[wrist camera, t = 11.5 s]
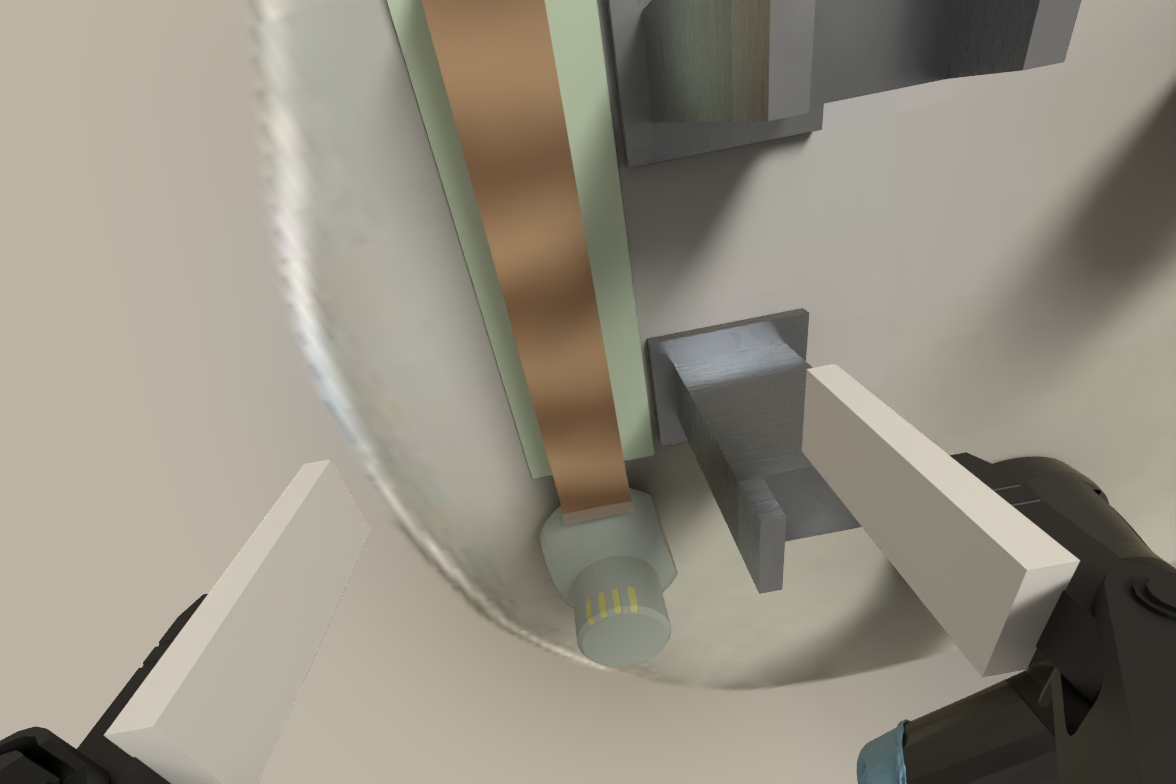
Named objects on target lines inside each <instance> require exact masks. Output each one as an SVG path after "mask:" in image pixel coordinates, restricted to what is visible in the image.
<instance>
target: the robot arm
mask: <svg viewBox="0 0 1176 784" xmlns="http://www.w3.org/2000/svg"><path fill="white" fill-rule="evenodd" d="M802 452H803V453H804V455H805V456H806V457H807V458H808V460H809V461H810V462H811V463H812V465H813V466H814V467H815V468H816V470H817V471H818V472H819V473H820V475H821V476H822V477H823V478H824V480H825V481H826V482H827V483H828V485H829V486H830V487H831V488H832V490H833V491H834V492H835V493H836V495H837V496H838V497H839V498H840V500H841V501H842V502H843V503H844V505H845V506H846V507H847V508H848V510H849V511H850V512H851V513H852V515H853V516H854V517H855V518H856V520H857V521H858V522H859V523H860V525H861V526H862V527H863V528H864V530H865V531H866V532H867V533H868V535H869V536H870V537H871V538H872V540H873V541H874V542H875V543H876V545H877V546H878V547H879V548H880V550H881V551H882V552H883V553H884V555H885V556H886V557H887V558H888V560H889V561H890V562H891V563H892V565H893V566H894V567H895V568H896V570H897V571H898V572H899V573H900V575H901V576H902V577H903V578H904V580H905V581H906V582H907V583H908V585H909V586H910V587H911V588H912V590H913V591H914V592H915V593H916V595H917V596H918V597H919V598H920V600H921V601H922V602H923V603H924V605H925V606H926V607H927V609H928V610H929V611H930V612H931V614H932V615H933V616H934V617H935V619H936V620H937V621H938V622H939V624H940V625H941V626H942V627H943V629H944V630H945V631H946V632H947V634H948V635H949V636H950V637H951V639H952V640H953V641H954V642H955V644H956V645H957V646H958V647H959V649H960V650H961V651H962V652H963V654H964V655H965V656H966V657H967V659H968V660H969V661H970V662H971V664H972V665H973V666H974V667H975V669H976V670H977V671H978V672H979V674H980V675H981V676H982V677H986V676H992V675H998V674H1003V673H1009V672H1015V671H1020V670H1025V671H1023V672H1021V673H1019V674H1017V675H1014V676H1012V677H1010V678H1008V679H1006V680H1003V681H1000V682H998V683H996V684H994V685H992V686H990V687H987V688H985V689H983V690H981V691H979V692H977V693H975V694H972V695H970V696H968V697H966V698H964V699H961V700H959V701H956V702H954V703H952V704H950V705H947V706H945V707H943V708H940V709H938V710H936V711H933V712H931V713H929V714H926V715H924V716H922V717H920V718H917V719H915V720H913V721H909V720H907V719H906V720H903V721H901V722H900V723H899V724H898V726H897V728H895V729H893V730H891V731H889V732H887V733H885V734H883V735H882V736H880V737H878V738H876V739H874V740H872V741H870V742H868V743H867V744H866V745H865V746H864V747H863V748H862V750H861V752H860V754H859V757H858V761H857V779H858V784H1176V569H1175V568H1174V567H1172V566H1171V565H1170V564H1168V563H1167V562H1165V561H1164V560H1163V559H1161V558H1160V557H1159V556H1157V555H1156V554H1155V553H1153V552H1152V550H1151V549H1150V548H1149V547H1148V546H1147V545H1146V543H1145V542H1144V541H1143V540H1142V539H1141V537H1140V536H1139V535H1138V534H1137V533H1136V532H1135V530H1134V529H1133V528H1132V527H1131V526H1130V525H1129V524H1128V522H1127V521H1126V520H1125V519H1124V518H1123V517H1122V516H1121V515H1120V514H1119V513H1118V512H1117V511H1116V510H1115V509H1114V508H1113V507H1111V506H1110V505H1109V502H1108V499H1107V497H1106V495H1105V494H1104V492H1103V491H1102V490H1101V489H1100V488H1099V486H1097V485H1096V484H1095V483H1094V482H1093V481H1092V480H1090V479H1089V478H1087V477H1086V476H1084V475H1083V474H1081V473H1080V472H1078V471H1077V470H1075V469H1073V468H1072V467H1070V466H1069V465H1067V464H1066V463H1064V462H1062V461H1059V460H1056V459H1053V458H1047V457H1023V458H1017V459H1011V460H1007V461H1003V462H1000V463H997V464H994V465H993V464H991V463H989V462H987V461H984V460H982V459H980V458H978V457H975V456H973V455H971V454H968V453H961V454H955V455H950V456H949V455H948V454H947V453H946V452H944V451H943V450H942V449H941V448H939V447H938V446H937V445H936V444H934V443H933V442H932V441H931V440H929V439H928V438H927V437H926V436H924V435H923V434H922V433H921V432H919V431H918V430H917V429H916V428H914V427H913V426H912V425H911V424H909V423H908V422H907V421H906V420H904V419H903V418H902V417H901V416H899V415H898V414H897V413H896V412H894V411H893V410H892V409H891V408H889V407H888V406H887V405H886V404H884V403H883V402H882V401H881V400H879V399H878V398H877V397H876V396H874V395H873V394H872V393H871V392H869V391H868V390H867V389H866V388H865V387H863V386H862V385H861V384H860V383H858V382H857V381H856V380H855V379H853V378H852V377H851V376H850V375H848V374H847V373H846V372H845V371H843V370H842V369H841V368H840V367H838V366H837V365H836V364H832V365H826V366H821V367H816V368H810V369H807V373H806V389H805V405H804V422H803V438H802ZM370 532H371V530H370V528H369V526H368V524H367V523H366V521H365V519H364V517H363V515H362V514H361V512H360V510H359V508H358V506H357V505H356V503H355V501H354V499H353V497H352V496H351V494H350V492H349V490H348V488H347V487H346V485H345V483H344V481H343V479H342V478H341V476H340V474H339V472H338V471H337V469H336V467H335V465H334V463H333V462H332V460H331V459H329V460H324V461H318V462H313V463H308V464H304V465H303V466H302V468H301V469H300V470H299V472H298V473H297V474H296V476H295V478H293V480H292V481H291V483H290V484H289V485H288V487H287V488H286V489H285V491H284V492H283V493H282V495H281V496H280V497H279V499H278V500H277V502H276V503H275V504H274V506H273V507H272V508H271V510H270V511H269V512H268V514H267V515H266V516H265V518H264V519H263V520H262V522H261V523H260V524H259V526H258V527H257V529H256V530H255V531H254V533H253V534H252V535H251V537H250V538H249V539H248V541H247V542H246V544H245V545H244V546H243V548H242V549H241V550H240V552H239V553H238V554H237V556H236V557H235V558H234V560H233V561H232V562H231V564H230V565H229V566H228V568H227V569H226V571H225V572H224V573H223V575H222V576H221V577H220V579H219V580H218V581H217V583H216V584H215V585H214V587H213V588H212V589H211V591H210V592H209V594H204V595H202V596H201V597H200V598H199V599H198V600H196V602H194V603H193V604H192V605H191V606H190V607H189V608H188V609H187V610H185V611H184V612H183V613H182V614H181V615H180V616H179V617H178V618H177V619H176V620H175V622H174V623H173V624H172V626H171V627H170V628H169V629H168V631H167V632H166V633H165V635H164V636H163V637H162V639H161V640H160V641H159V646H158V647H155V648H154V649H153V650H152V652H151V653H150V654H149V656H148V657H147V658H146V659H145V661H144V662H143V664H144V665H143V667H142V668H139V669H138V670H137V671H136V673H135V674H134V675H133V676H132V678H131V679H130V680H129V682H128V683H127V684H126V686H125V687H124V688H123V690H122V691H121V692H120V693H119V695H118V696H117V698H116V699H115V700H114V701H113V703H112V704H111V705H110V707H109V708H108V709H107V710H106V712H105V713H104V714H103V716H102V717H101V718H100V720H99V721H98V722H97V723H96V725H95V726H94V727H93V729H92V730H91V732H90V733H89V734H88V735H87V737H86V738H85V739H84V741H83V742H82V743H81V744H80V746H79V747H78V748H77V749H75V748H74V747H72V746H71V745H69V744H68V743H66V742H65V741H64V740H62V739H61V738H59V737H58V736H56V735H55V734H53V733H52V732H51V731H49V730H48V729H45V728H40V727H32V728H28V729H25V730H21V731H18V732H16V733H14V734H12V735H10V736H8V737H6V738H5V739H3V740H1V741H0V784H259V781H260V779H261V777H262V775H263V772H264V770H265V768H266V766H267V763H268V761H269V759H270V756H271V754H272V752H273V750H274V748H275V746H276V743H277V741H278V739H279V736H280V734H281V732H282V730H283V728H284V725H285V723H286V721H287V719H288V716H289V714H290V712H291V710H292V707H293V705H294V703H295V701H296V698H297V696H298V694H299V692H300V689H301V687H302V685H303V683H304V680H305V678H306V676H307V674H308V671H309V669H310V667H311V665H312V662H313V660H314V658H315V656H316V653H317V651H318V649H319V647H320V645H321V642H322V640H323V638H324V635H325V633H326V631H327V629H328V627H329V624H330V622H331V620H332V618H333V615H334V613H335V611H336V609H337V606H338V604H339V602H340V600H341V597H342V595H343V593H344V591H345V588H346V586H347V584H348V582H349V579H350V577H351V575H352V573H353V571H354V568H355V566H356V564H357V562H358V559H359V557H360V555H361V553H362V550H363V548H364V546H365V544H366V541H367V539H368V537H369V535H370Z"/></svg>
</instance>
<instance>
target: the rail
mask: <svg viewBox="0 0 1176 784" xmlns="http://www.w3.org/2000/svg"><path fill="white" fill-rule="evenodd" d="M421 1H422V5H423V8H424V12H425V16H426V19H427V23H428V26H429V30H430V34H431V37H432V41H433V45H434V48H435V52H436V55H437V59H438V63H439V66H440V70H441V73H442V77H443V81H444V84H445V88H446V92H447V95H448V99H449V102H450V106H451V110H452V113H453V117H454V121H455V124H456V128H457V131H458V135H459V139H460V142H461V146H462V149H463V153H464V157H465V160H466V164H467V168H468V171H469V175H470V178H471V182H472V186H473V189H474V193H475V196H476V200H477V204H478V207H479V211H480V215H481V218H482V222H483V225H484V229H485V233H486V236H487V240H488V243H489V247H490V251H491V254H492V258H493V262H494V265H495V269H496V272H497V276H498V280H499V283H500V287H501V290H502V294H503V298H504V301H505V305H506V309H507V312H508V316H509V319H510V323H511V327H512V330H513V334H514V337H515V341H516V345H517V348H518V352H519V356H520V359H521V363H522V366H523V370H524V374H525V377H526V381H527V384H528V388H529V392H530V395H531V399H532V403H533V406H534V410H535V413H536V417H537V421H538V424H539V428H540V431H541V435H542V439H543V442H544V446H545V450H546V453H547V457H548V460H549V464H550V468H551V471H552V475H553V478H554V482H555V486H556V489H557V493H558V497H559V500H560V504H561V510H562V519H563V522H564V525H568V524H573V523H578V522H583V521H589V520H594V519H599V518H604V517H609V516H614V515H620V514H625V513H630V512H635V511H634V505H633V500H632V496H631V492H630V488H629V484H628V480H627V475H626V469H625V463H624V457H623V452H622V446H621V440H620V434H619V428H618V423H617V417H616V411H615V405H614V399H613V394H612V388H611V382H610V376H609V371H608V365H607V359H606V353H605V347H604V342H603V336H602V330H601V324H600V318H599V313H598V307H597V301H596V295H595V290H594V284H593V278H592V272H591V266H590V261H589V255H588V249H587V243H586V237H585V232H584V226H583V220H582V214H581V208H580V203H579V197H578V191H577V185H576V180H575V174H574V168H573V162H572V156H571V151H570V145H569V139H568V133H567V127H566V122H565V116H564V110H563V104H562V98H561V93H560V87H559V81H558V75H557V70H556V64H555V58H554V52H553V46H552V41H551V35H550V29H549V23H548V17H547V12H546V6H545V0H421Z"/></svg>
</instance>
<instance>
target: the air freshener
mask: <svg viewBox="0 0 1176 784" xmlns="http://www.w3.org/2000/svg"><path fill="white" fill-rule="evenodd" d="M630 492H631V496H632V500H633V505H634V511H635V512H630V513H625V514H620V515H614V516H609V517H604V518H599V519H594V520H589V521H583V522H578V523H573V524H568V525H564V522H563V519H562V510H561V505H560V506H559V507H558V508H557V509H556V510H555V511H554V512H553V513H552V514H551V515H550V517H549V518H548V519H547V521H546V522H545V524H544V526H543V528H542V529H541V532H540V542H541V548H542V552H543V556H544V559H545V562H546V565H547V568H548V571H549V573H550V576H551V578H552V580H553V582H554V585H555V587H556V588H557V590H558V592H559V594H560V595H561V597H562V598H563V600H564V601H565V602H566V603H567V604H568V605H569V606H572V607H574V610H575V622H576V634H577V643H578V647H579V649H580V651H581V652H582V653H583V654H584V655H585V656H586V657H588V658H589V659H591V660H592V661H594V662H596V663H599V664H602V665H606V666H613V667H621V666H629V665H634V664H638V663H641V662H643V661H646V660H648V659H650V658H652V657H653V656H655V655H656V654H657V653H659V652H660V651H661V650H662V648H663V647H664V646H665V644H666V643H667V642H668V640H669V638H670V634H671V626H670V622H669V618H668V614H667V610H666V606H665V602H664V598H663V594H662V593H663V592H664V591H665V590H666V589H667V588H668V587H669V585H670V584H671V583H672V581H673V580H674V579H675V577H676V575H677V570H676V567H675V564H674V560H673V557H672V554H671V551H670V548H669V545H668V542H667V539H666V536H665V534H664V531H663V528H662V525H661V522H660V519H659V517H658V514H657V511H656V508H655V506H654V503H653V501H652V498H651V496H650V495H649V494H647V493H644V492H642V491H639V490H636V489H631V488H630Z"/></svg>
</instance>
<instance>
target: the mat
mask: <svg viewBox="0 0 1176 784" xmlns="http://www.w3.org/2000/svg"><path fill="white" fill-rule="evenodd" d="M387 3H388V6H389V9H390V13H391V16H392V19H393V22H394V26H395V29H396V32H397V36H398V39H399V42H400V45H401V49H402V52H403V55H404V59H405V62H406V65H407V68H408V72H409V75H410V78H411V82H412V85H413V88H414V91H415V95H416V98H417V101H418V105H419V108H420V111H421V115H422V118H423V121H424V124H425V128H426V131H427V134H428V138H429V141H430V144H431V147H432V151H433V154H434V157H435V161H436V164H437V167H438V170H439V174H440V177H441V180H442V184H443V187H444V190H445V193H446V197H447V200H448V203H449V207H450V210H451V213H452V216H453V220H454V223H455V226H456V230H457V233H458V236H459V239H460V243H461V246H462V249H463V253H464V256H465V259H466V262H467V266H468V269H469V272H470V276H471V279H472V282H473V285H474V289H475V292H476V295H477V299H478V302H479V305H480V308H481V312H482V315H483V318H484V322H485V325H486V328H487V331H488V335H489V338H490V341H491V345H492V348H493V351H494V354H495V358H496V361H497V364H498V368H499V371H500V374H501V377H502V381H503V384H504V387H505V391H506V394H507V397H508V400H509V404H510V407H511V410H512V414H513V417H514V420H515V423H516V427H517V430H518V433H519V437H520V440H521V443H522V446H523V450H524V453H525V456H526V460H527V463H528V466H529V469H530V473H531V476H532V479H535V478H540V477H546V476H551V475H552V471H551V468H550V464H549V460H548V457H547V453H546V450H545V446H544V442H543V439H542V435H541V431H540V428H539V424H538V421H537V417H536V413H535V410H534V406H533V403H532V399H531V395H530V392H529V388H528V384H527V381H526V377H525V374H524V370H523V366H522V363H521V359H520V356H519V352H518V348H517V345H516V341H515V337H514V334H513V330H512V327H511V323H510V319H509V316H508V312H507V309H506V305H505V301H504V298H503V294H502V290H501V287H500V283H499V280H498V276H497V272H496V269H495V265H494V262H493V258H492V254H491V251H490V247H489V243H488V240H487V236H486V233H485V229H484V225H483V222H482V218H481V215H480V211H479V207H478V204H477V200H476V196H475V193H474V189H473V186H472V182H471V178H470V175H469V171H468V168H467V164H466V160H465V157H464V153H463V149H462V146H461V142H460V139H459V135H458V131H457V128H456V124H455V121H454V117H453V113H452V110H451V106H450V102H449V99H448V95H447V92H446V88H445V84H444V81H443V77H442V73H441V70H440V66H439V63H438V59H437V55H436V52H435V48H434V45H433V41H432V37H431V34H430V30H429V26H428V23H427V19H426V16H425V12H424V8H423V5H422V1H421V0H387ZM545 6H546V12H547V17H548V23H549V29H550V35H551V41H552V46H553V52H554V58H555V64H556V70H557V75H558V81H559V87H560V93H561V98H562V104H563V110H564V116H565V122H566V127H567V133H568V139H569V145H570V151H571V156H572V162H573V168H574V174H575V180H576V185H577V191H578V197H579V203H580V208H581V214H582V220H583V226H584V232H585V237H586V243H587V249H588V255H589V261H590V266H591V272H592V278H593V284H594V290H595V295H596V301H597V307H598V313H599V318H600V324H601V330H602V336H603V342H604V347H605V353H606V359H607V365H608V371H609V376H610V382H611V388H612V394H613V399H614V405H615V411H616V417H617V423H618V428H619V434H620V440H621V446H622V452H623V457H624V461H628V460H633V459H639V458H644V457H649V456H654V455H655V454H654V446H653V438H652V430H651V422H650V414H649V407H648V399H647V391H646V383H645V375H644V367H643V360H642V352H641V344H640V336H639V328H638V320H637V312H636V305H635V297H634V289H633V281H632V273H631V265H630V258H629V250H628V242H627V234H626V226H625V218H624V211H623V203H622V195H621V187H620V179H619V171H618V164H617V156H616V148H615V140H614V132H613V124H612V116H611V109H610V101H609V93H608V85H607V77H606V69H605V62H604V54H603V46H602V38H601V30H600V22H599V15H598V7H597V0H545Z"/></svg>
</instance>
